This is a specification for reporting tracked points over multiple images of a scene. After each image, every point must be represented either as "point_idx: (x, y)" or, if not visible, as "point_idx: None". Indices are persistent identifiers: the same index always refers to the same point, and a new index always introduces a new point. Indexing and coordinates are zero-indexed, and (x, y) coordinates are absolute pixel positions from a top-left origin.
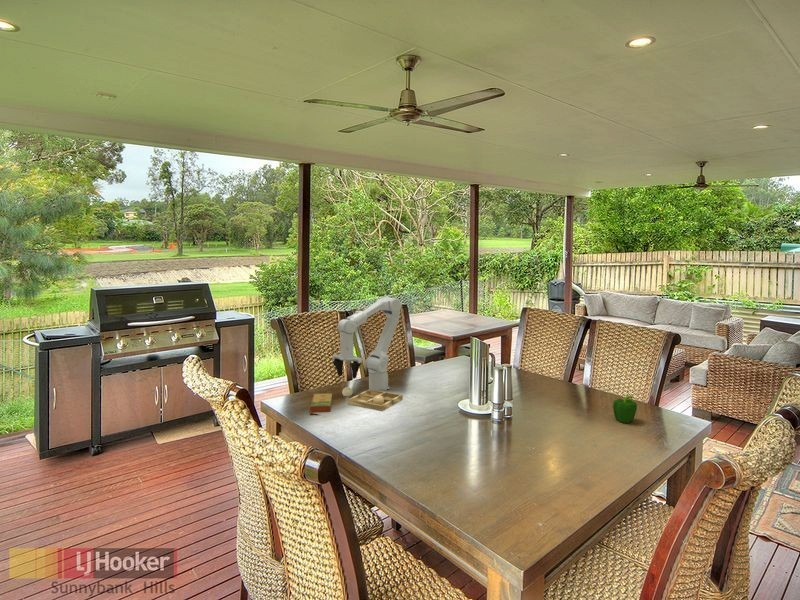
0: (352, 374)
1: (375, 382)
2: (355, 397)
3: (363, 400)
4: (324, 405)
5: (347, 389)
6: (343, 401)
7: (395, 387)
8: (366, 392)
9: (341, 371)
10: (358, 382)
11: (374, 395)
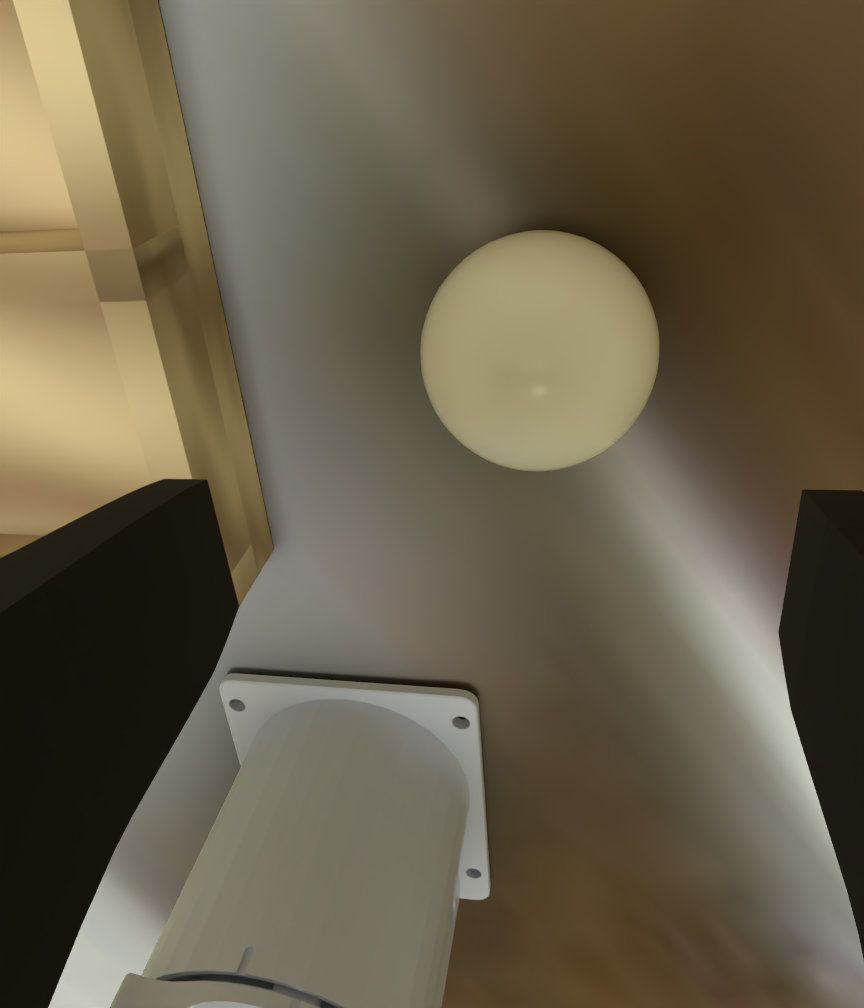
0: (97, 534)
1: (248, 820)
2: (30, 37)
3: (35, 198)
4: None
5: (477, 326)
6: (450, 38)
7: None
8: (157, 470)
9: (823, 723)
10: (816, 945)
11: None
